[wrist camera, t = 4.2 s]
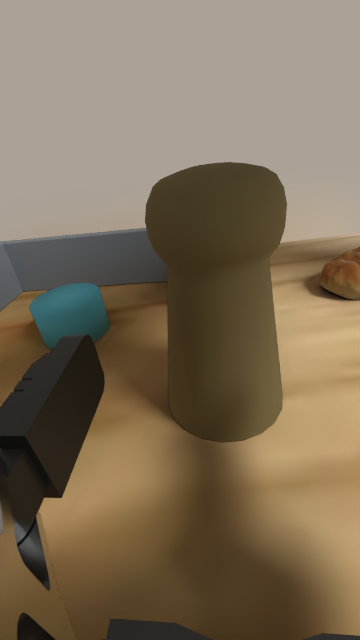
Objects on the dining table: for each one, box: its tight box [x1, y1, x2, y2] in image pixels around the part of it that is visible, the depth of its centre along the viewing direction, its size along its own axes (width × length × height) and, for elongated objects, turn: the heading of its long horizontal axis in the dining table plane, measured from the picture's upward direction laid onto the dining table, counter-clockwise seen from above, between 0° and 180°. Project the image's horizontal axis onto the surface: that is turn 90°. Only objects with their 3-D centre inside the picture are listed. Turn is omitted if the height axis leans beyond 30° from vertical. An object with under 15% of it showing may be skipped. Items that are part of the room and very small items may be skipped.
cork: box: [145, 162, 287, 442], centre depth 14 cm, size 6×6×11 cm
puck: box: [30, 283, 109, 349], centre depth 23 cm, size 5×5×3 cm
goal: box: [0, 228, 167, 311], centre depth 26 cm, size 20×7×7 cm, turn 85°
